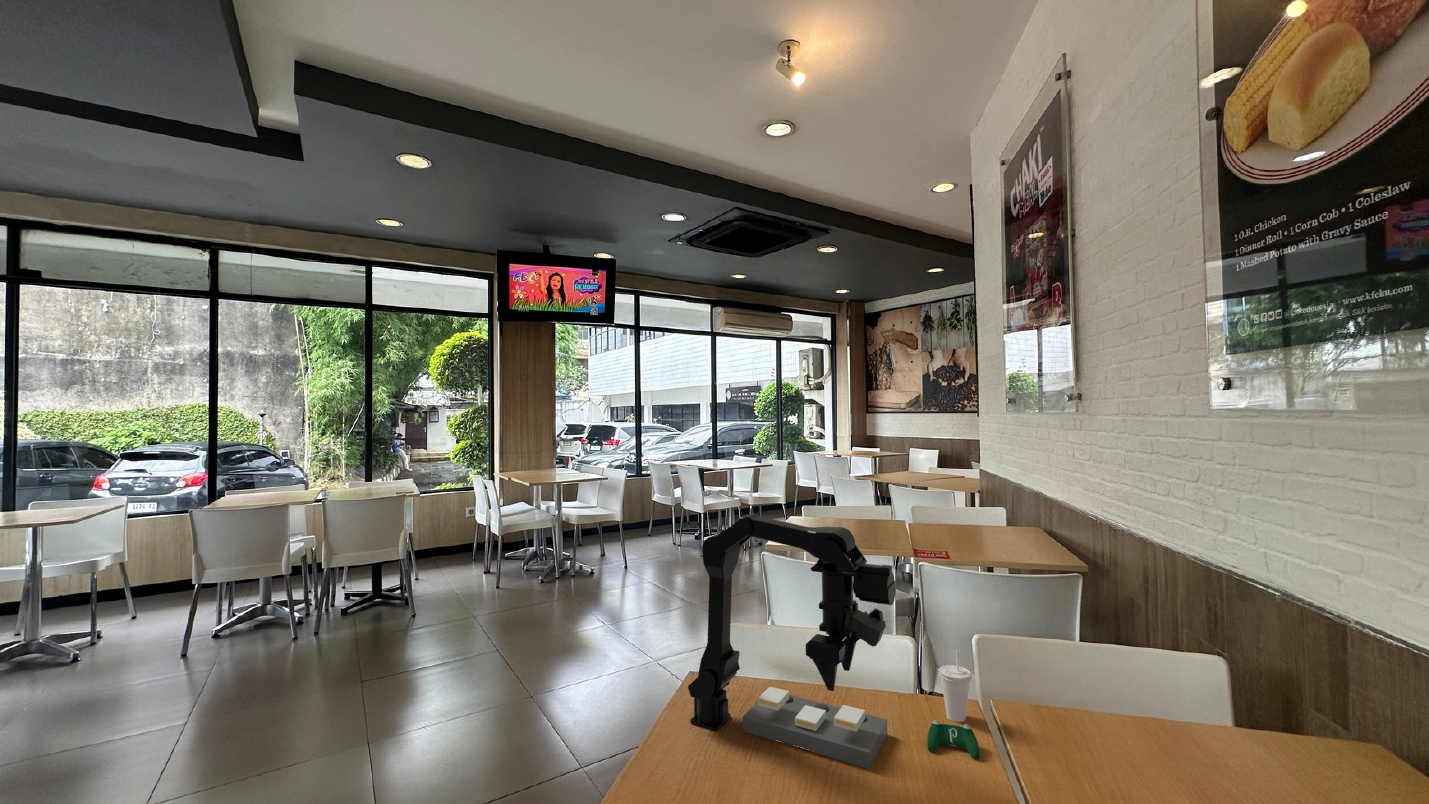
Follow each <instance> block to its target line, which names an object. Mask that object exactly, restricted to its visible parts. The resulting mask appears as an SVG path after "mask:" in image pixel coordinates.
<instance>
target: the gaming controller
mask: <svg viewBox="0 0 1429 804" xmlns="http://www.w3.org/2000/svg"><path fill="white" fill-rule="evenodd" d="M926 738H927V741H926V744H927V750H928V752H930V753H936V752H937V750H938V748H939V746H940V745H941V746H942V745H943V746H951V747H952V746H953V747H957V748H959V749H964V748H965V749H966V751H967V753H968V754H969V756H970V757H971V759H973V760H977V761H978V760H980V758H981V753H980V752H981V751H980V746H979V742H978V738H977V737H976V735H975V733H974V731H973V729H972V726H970V724H967V723H965V724H964V725H963V726H961V725H960V726H958V725H954V724H949V723H948V724H946V723H940V720H938V719H934V720H933V721H932V722H931V724H930V727H929V730H928V733H927V737H926Z"/></svg>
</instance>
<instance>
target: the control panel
mask: <svg viewBox="0 0 1429 804" xmlns="http://www.w3.org/2000/svg"><path fill="white" fill-rule="evenodd" d="M805 705H807V706H811V707H815V708H819V709H822V710H826V719H825V720H824V721H823V723H822V724H821V725H820V727H819V728H818V730H817V731H813V730H810V729H806V728H803V727H799V726H796V725H795V717H796V716H797V715H798V713H799V712H800V711H801V710H802V709H803V707H804V706H805ZM840 708H841V707H840V706H835V705H832V704H828V703H824V702H819V701H815V700H811V699H808V698H804V697H799V696H796V695H792V694H789V699H788V700H787V701H786V703H785V704H784V705H783V706H782V707H781V708H780V709H779V710H774V709H770V708H767V707H763V706H759V705H758V701H757V702H755V703H754V704H753V706H751V708H749V710H748V711H746V712H745V713H744V714H743V715H742V732H744V733H747V734H751V735H755V736H756V737H760V736H761V738H764V737H765V738H764V739H767V738H768V739H767V740H770V739H771V740H770V741H774V740H778V741H781V742H783V743H782V744H784V743H786V744H785V745H787V744H790V745H795V746H799V747H803V748H805V749H809V750H811V751H814V752H816V753H815V754H817V753H818V754H817V755H820V754H823V755H822V756H824V755H825V756H824V757H828V758H830V757H831V758H830V759H834V760H836V761H841V762H845V763H847V764H851V765H854V766H856V767H857V766H858V767H861V768H864V769H868V770H870V769H871V768H872V766H873V764H874V762H875V760H876V757H877V756H878V754H879V752H880V751H881V748H882V746H883V745H884V743H885V740H886V738H887V736H888V719H887V718H884V717H883V718H882V717H879V716H874V715H870V714H867V713H865V719H864V721H863V722H862V724H861V726H860V727H859V729H858V731H857V732H855V731H852V730H848V729H844V728H841V727H837V726H834V717H835V715H836V714H837V713H838V711H839V710H840ZM790 745H789V746H790ZM814 752H813V753H814Z"/></svg>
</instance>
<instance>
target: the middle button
mask: <svg viewBox="0 0 1429 804" xmlns="http://www.w3.org/2000/svg"><path fill="white" fill-rule="evenodd" d="M825 719H826V710H822V709H819V708H815V707H811V706H807V705H805V706H804V707H803V709H802V710H801V711H800V712H799V713H798V715H797V716H796V717H795V725H796V726H799V727H803V728H806V729H810V730H813V731H817V730H818V728H819V727H820V725H821V724H822V723H823V721H824V720H825Z"/></svg>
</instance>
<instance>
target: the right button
mask: <svg viewBox="0 0 1429 804" xmlns="http://www.w3.org/2000/svg"><path fill="white" fill-rule="evenodd" d="M865 714H866V710H865V709H863V708H857V707H854V706H850V705H845V704H842V705H841V707H840V710H839V711H838V713H837V714H836V715H835V717H834V726H837V727H841V728H844V729H848V730H852V731H855V732H857V731H858V729H859V727H860V726H861V724H862V722H863V721H864V719H865Z"/></svg>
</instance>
